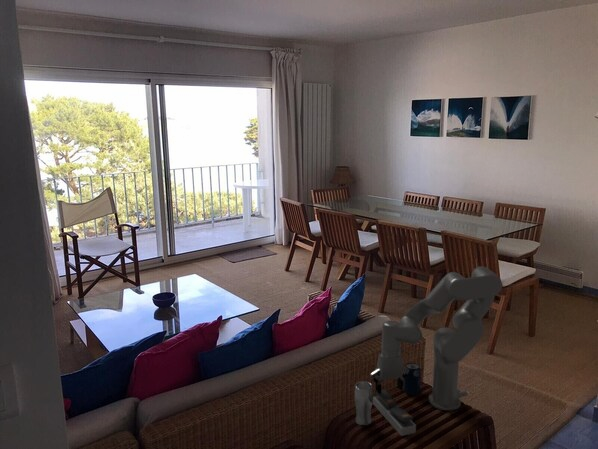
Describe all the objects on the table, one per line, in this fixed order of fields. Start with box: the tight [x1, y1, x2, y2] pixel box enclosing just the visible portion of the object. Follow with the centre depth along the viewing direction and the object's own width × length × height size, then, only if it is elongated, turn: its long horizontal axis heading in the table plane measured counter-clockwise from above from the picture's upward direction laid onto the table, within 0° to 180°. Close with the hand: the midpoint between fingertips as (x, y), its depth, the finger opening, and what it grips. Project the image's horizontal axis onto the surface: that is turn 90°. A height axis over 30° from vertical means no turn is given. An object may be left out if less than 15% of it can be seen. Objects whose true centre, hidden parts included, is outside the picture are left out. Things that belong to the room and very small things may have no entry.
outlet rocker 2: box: [390, 406, 414, 422], centre depth 181 cm, size 4×10×1 cm, turn 18°
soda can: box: [403, 362, 422, 396], centre depth 205 cm, size 7×7×12 cm
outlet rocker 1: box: [375, 389, 398, 407], centre depth 192 cm, size 4×10×1 cm, turn 18°
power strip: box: [372, 395, 417, 437], centre depth 187 cm, size 23×6×3 cm, turn 18°
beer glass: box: [354, 380, 374, 426], centre depth 184 cm, size 7×7×15 cm
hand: (389, 390), depth 197 cm, fingers open, 9 cm apart
